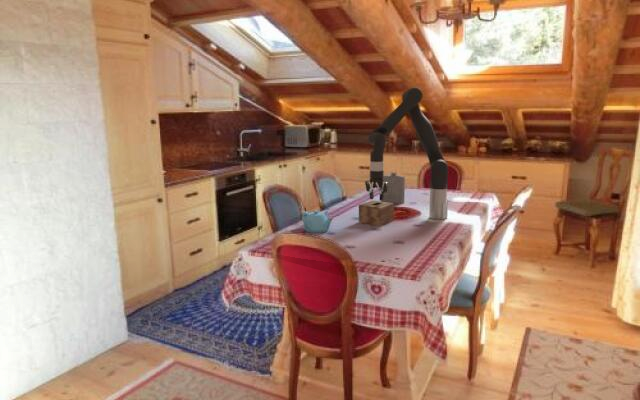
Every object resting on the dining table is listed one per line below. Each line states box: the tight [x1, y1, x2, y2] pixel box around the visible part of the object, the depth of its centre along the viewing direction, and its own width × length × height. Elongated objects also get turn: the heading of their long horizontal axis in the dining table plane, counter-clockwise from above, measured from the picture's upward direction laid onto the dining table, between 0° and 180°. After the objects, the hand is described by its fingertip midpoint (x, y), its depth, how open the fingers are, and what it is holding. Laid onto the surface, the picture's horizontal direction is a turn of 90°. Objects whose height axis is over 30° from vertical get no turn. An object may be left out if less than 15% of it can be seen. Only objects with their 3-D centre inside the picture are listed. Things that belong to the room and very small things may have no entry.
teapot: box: [301, 209, 333, 234], centre depth 252 cm, size 15×15×11 cm
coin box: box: [358, 199, 395, 227], centre depth 267 cm, size 14×14×10 cm
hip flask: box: [381, 171, 406, 205], centre depth 314 cm, size 16×4×20 cm, turn 60°
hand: (376, 199), depth 265 cm, fingers open, 5 cm apart
